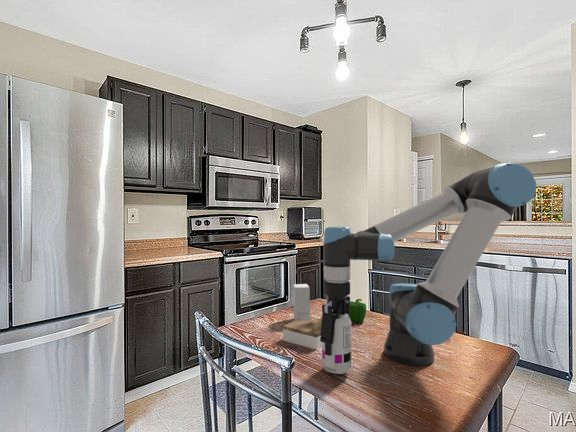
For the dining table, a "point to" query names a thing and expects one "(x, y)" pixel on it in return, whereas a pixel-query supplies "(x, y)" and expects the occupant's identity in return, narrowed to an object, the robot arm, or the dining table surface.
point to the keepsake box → (302, 339)
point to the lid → (305, 326)
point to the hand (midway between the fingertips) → (336, 359)
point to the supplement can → (340, 346)
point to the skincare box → (301, 301)
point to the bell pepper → (357, 311)
